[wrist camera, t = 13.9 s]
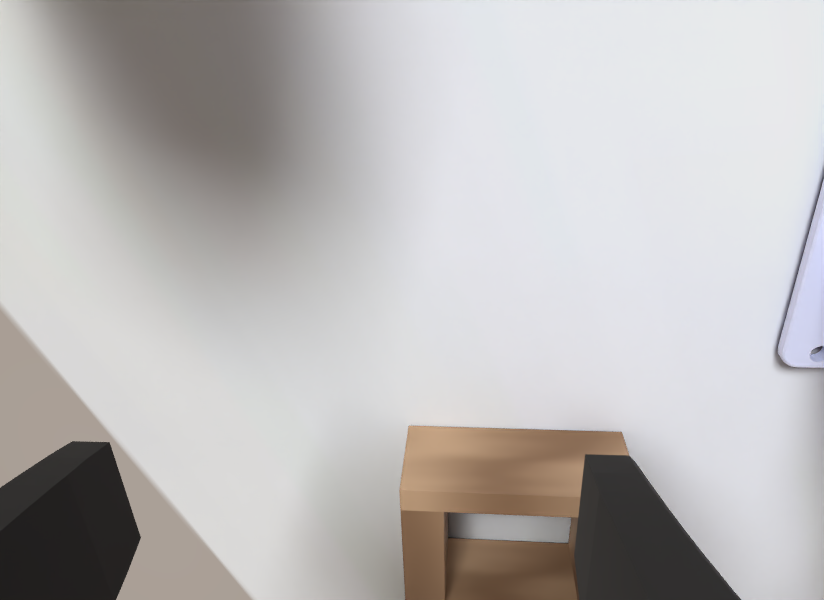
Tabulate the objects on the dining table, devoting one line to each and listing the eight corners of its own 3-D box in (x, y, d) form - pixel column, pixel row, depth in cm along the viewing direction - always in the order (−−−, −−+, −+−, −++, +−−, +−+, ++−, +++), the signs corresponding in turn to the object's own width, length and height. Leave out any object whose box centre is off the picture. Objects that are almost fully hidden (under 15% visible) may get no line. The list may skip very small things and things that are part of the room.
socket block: (621, 432, 21) (643, 499, 18) (589, 645, 26) (602, 722, 23) (408, 425, 22) (399, 490, 19) (417, 635, 27) (411, 708, 24)
